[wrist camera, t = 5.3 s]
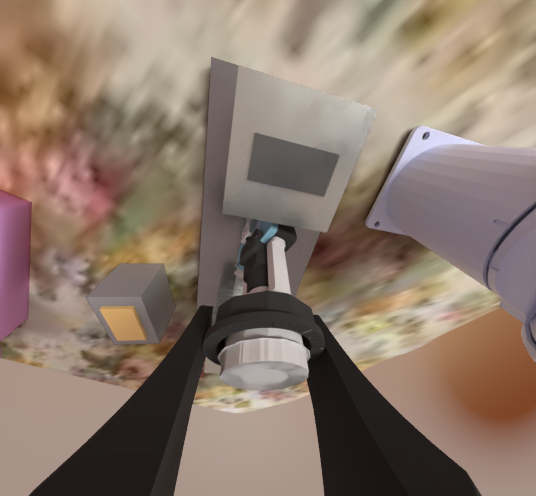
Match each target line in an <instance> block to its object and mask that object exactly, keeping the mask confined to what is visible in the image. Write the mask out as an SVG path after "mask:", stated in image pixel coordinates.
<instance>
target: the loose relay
mask: <svg viewBox="0 0 536 496" xmlns="http://www.w3.org/2000/svg"><path fill="white" fill-rule="evenodd" d="M86 299H87V301H88V302H89V304H90V306H91V307H92V309H93V311H94V312H95V314H96V316H97V317H98V319H99V321H100V322H101V324H102V326H103V327H104V329H105V331H106V332H107V334H108V335H109V337H110V339H111V340H112V342H113V344H114V345H125V344H158V343H160V341H161V339H162V337H163V334H164V332H165V330H166V328H167V325H168V323H169V321H170V319H171V316H172V314H173V312H174V310H175V307H176V306H175V303H174V299H173V296H172V292H171V289H170V285H169V281H168V278H167V274H166V271H165V267H164V264H119V265H118V266H117V267H116V268H115V269H114V270H113V271H112V272H111V273H110V274H109V275H108V276H107V277H106V278H105V279H104V280H103V281H102V282H101V283H100V284H99V285H98V286H97V287H96V288H95V289H94V290H93V291H92V292H90V293H89V294H88V295H87V296H86Z"/></svg>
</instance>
